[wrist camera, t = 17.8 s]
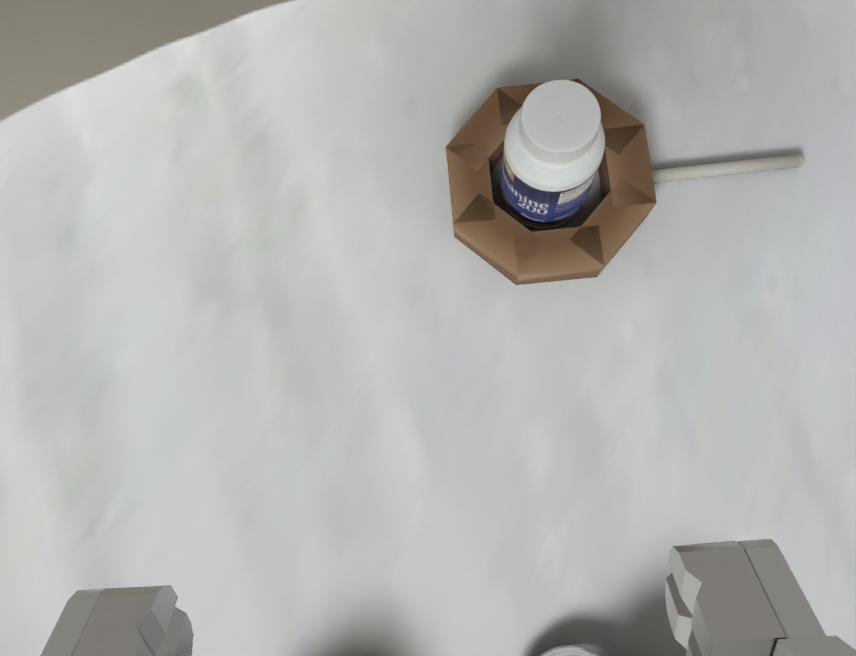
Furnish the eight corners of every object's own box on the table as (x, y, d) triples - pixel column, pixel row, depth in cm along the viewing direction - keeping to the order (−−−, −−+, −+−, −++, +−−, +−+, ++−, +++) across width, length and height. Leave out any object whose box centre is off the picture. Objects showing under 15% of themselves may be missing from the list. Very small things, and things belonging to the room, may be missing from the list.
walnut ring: (459, 290, 42) (458, 280, 40) (443, 114, 45) (440, 94, 42) (654, 271, 42) (665, 259, 39) (627, 93, 44) (635, 71, 41)
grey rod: (642, 185, 43) (645, 180, 42) (641, 173, 43) (644, 168, 42) (801, 169, 42) (808, 163, 41) (799, 156, 42) (805, 151, 41)
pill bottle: (483, 186, 43) (484, 109, 34) (547, 136, 44) (566, 46, 34) (537, 248, 42) (554, 187, 33) (603, 196, 43) (638, 121, 33)
